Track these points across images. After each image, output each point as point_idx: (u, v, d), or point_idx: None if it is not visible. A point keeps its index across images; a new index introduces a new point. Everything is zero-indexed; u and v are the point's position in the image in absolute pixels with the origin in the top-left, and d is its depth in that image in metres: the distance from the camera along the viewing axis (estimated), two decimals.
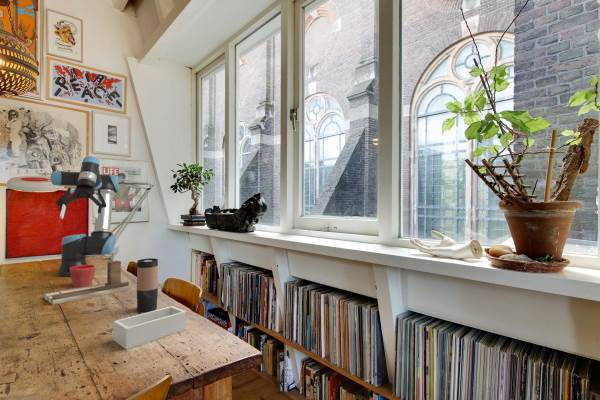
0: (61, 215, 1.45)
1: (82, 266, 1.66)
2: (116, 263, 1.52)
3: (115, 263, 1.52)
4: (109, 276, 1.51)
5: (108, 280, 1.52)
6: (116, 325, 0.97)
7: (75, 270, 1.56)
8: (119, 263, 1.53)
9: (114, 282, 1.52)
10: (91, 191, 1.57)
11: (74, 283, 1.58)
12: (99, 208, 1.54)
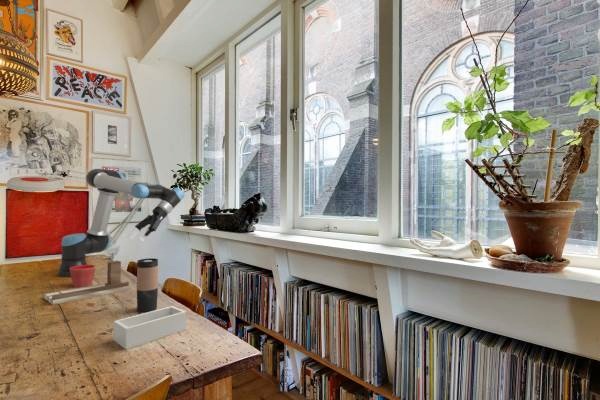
0: None
1: (82, 266, 1.66)
2: (116, 263, 1.52)
3: (115, 263, 1.52)
4: (109, 276, 1.51)
5: (108, 280, 1.52)
6: (116, 325, 0.97)
7: (75, 270, 1.56)
8: (119, 263, 1.53)
9: (114, 282, 1.52)
10: None
11: (74, 283, 1.58)
12: None
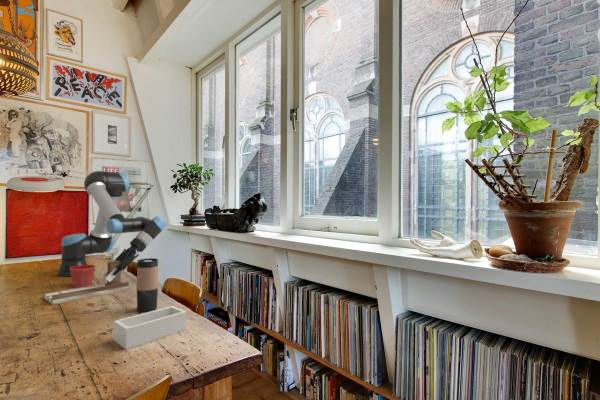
0: None
1: (82, 266, 1.66)
2: (116, 263, 1.52)
3: (115, 263, 1.52)
4: None
5: None
6: (116, 325, 0.97)
7: (75, 270, 1.56)
8: (119, 263, 1.53)
9: (114, 282, 1.52)
10: None
11: (74, 283, 1.58)
12: None
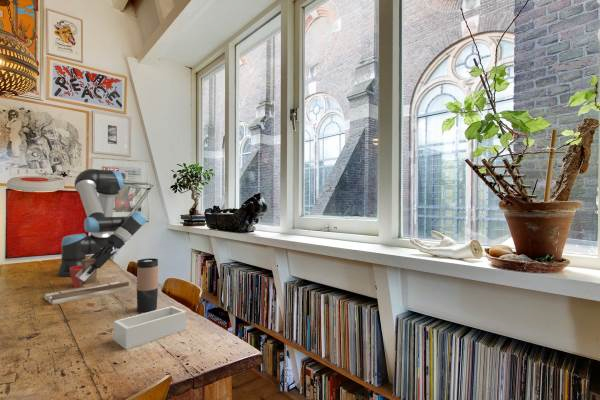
0: (84, 280, 1.41)
1: None
2: (91, 261, 1.43)
3: (90, 261, 1.43)
4: None
5: None
6: (116, 325, 0.97)
7: (75, 270, 1.56)
8: (94, 261, 1.44)
9: (89, 281, 1.43)
10: None
11: (74, 283, 1.58)
12: None
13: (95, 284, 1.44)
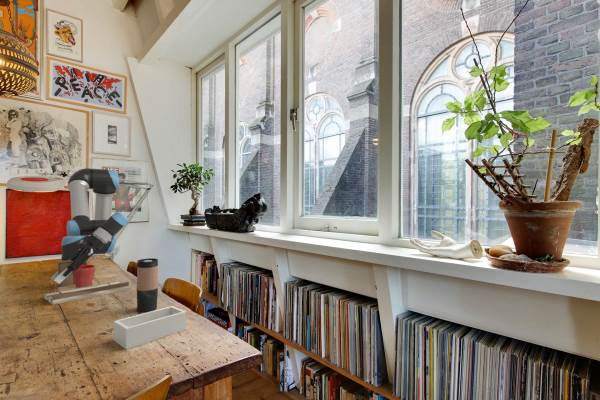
0: (59, 283, 1.35)
1: (82, 266, 1.66)
2: (67, 263, 1.37)
3: (66, 263, 1.37)
4: None
5: None
6: (116, 325, 0.97)
7: None
8: (71, 263, 1.38)
9: (65, 284, 1.36)
10: None
11: (74, 283, 1.58)
12: None
13: (71, 287, 1.38)
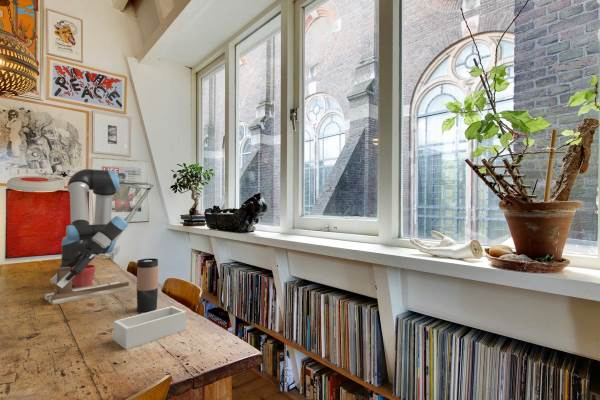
0: None
1: None
2: (66, 270, 1.37)
3: (65, 270, 1.37)
4: None
5: (58, 289, 1.36)
6: (116, 325, 0.97)
7: None
8: None
9: (64, 291, 1.36)
10: None
11: (74, 283, 1.58)
12: None
13: None
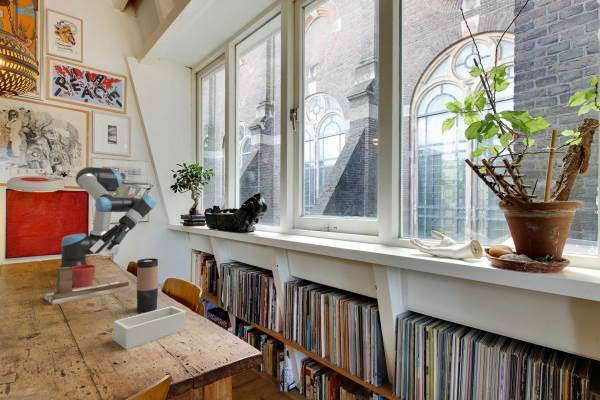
0: (104, 255, 1.45)
1: (82, 266, 1.66)
2: (66, 270, 1.37)
3: (65, 270, 1.37)
4: (58, 284, 1.36)
5: (58, 289, 1.36)
6: (116, 325, 0.97)
7: (75, 270, 1.56)
8: (70, 270, 1.38)
9: (64, 291, 1.36)
10: None
11: (74, 283, 1.58)
12: None
13: None
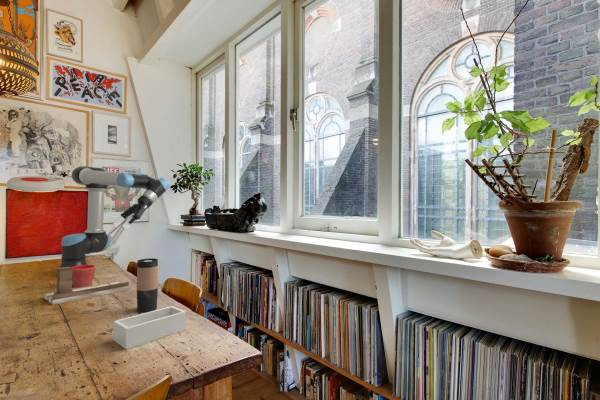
0: (126, 228, 1.66)
1: (82, 266, 1.66)
2: (66, 270, 1.37)
3: (65, 270, 1.37)
4: (58, 284, 1.36)
5: (58, 289, 1.36)
6: (116, 325, 0.97)
7: (75, 270, 1.56)
8: (70, 270, 1.38)
9: (64, 291, 1.36)
10: None
11: (74, 283, 1.58)
12: None
13: None
